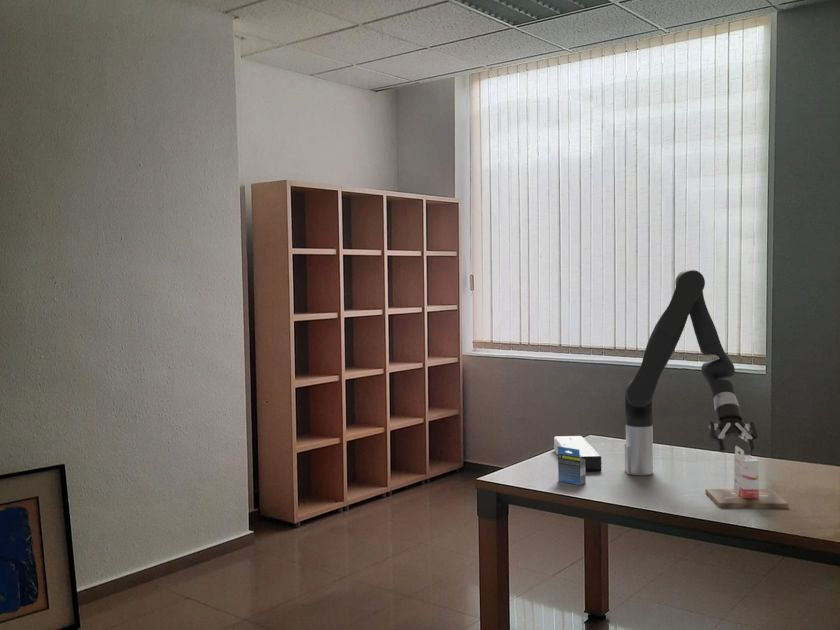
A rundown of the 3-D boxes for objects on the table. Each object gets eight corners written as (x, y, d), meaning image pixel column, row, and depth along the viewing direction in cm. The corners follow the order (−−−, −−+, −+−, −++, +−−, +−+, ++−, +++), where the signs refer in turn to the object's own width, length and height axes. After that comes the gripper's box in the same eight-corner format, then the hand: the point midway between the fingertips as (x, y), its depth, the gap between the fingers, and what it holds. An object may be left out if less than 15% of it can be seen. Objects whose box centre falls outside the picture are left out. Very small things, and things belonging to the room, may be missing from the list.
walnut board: (719, 508, 231) (719, 502, 231) (705, 493, 246) (705, 488, 246) (788, 508, 229) (788, 503, 229) (770, 493, 244) (770, 488, 244)
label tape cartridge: (586, 483, 261) (585, 447, 260) (580, 486, 258) (579, 449, 257) (563, 479, 267) (563, 444, 266) (557, 481, 264) (557, 446, 263)
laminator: (554, 451, 309) (554, 436, 308) (584, 450, 309) (584, 435, 308) (570, 473, 275) (570, 456, 274) (604, 473, 275) (604, 456, 274)
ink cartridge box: (759, 498, 234) (759, 451, 233) (742, 498, 234) (743, 451, 234) (749, 490, 243) (749, 444, 242) (733, 490, 243) (733, 444, 242)
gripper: (707, 402, 252) (716, 444, 241) (752, 402, 251) (763, 445, 240) (702, 415, 258) (711, 457, 247) (746, 415, 256) (757, 458, 245)
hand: (737, 451), depth 243 cm, fingers open, 8 cm apart
